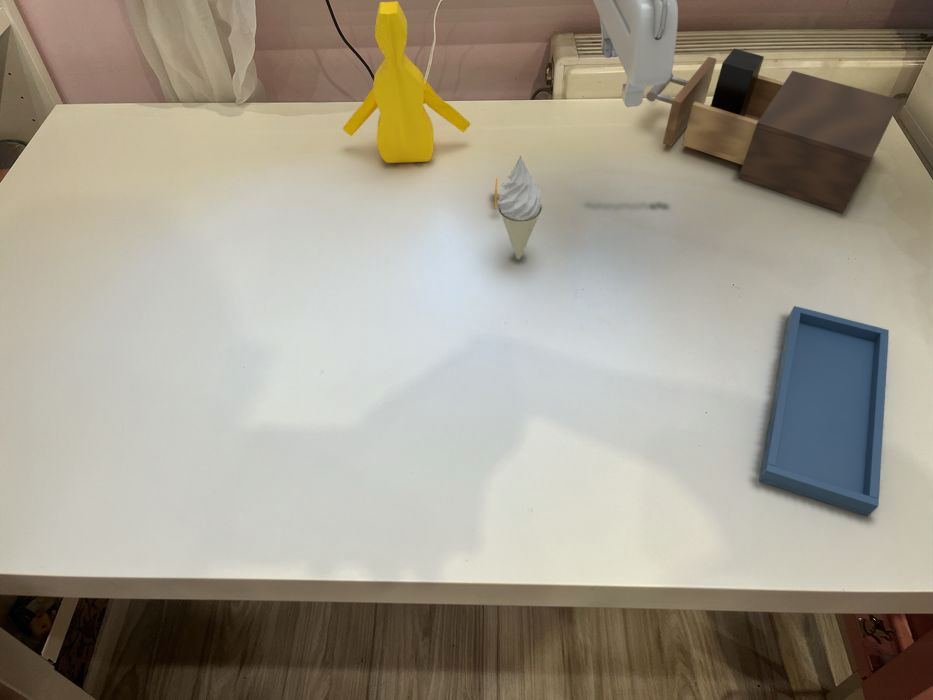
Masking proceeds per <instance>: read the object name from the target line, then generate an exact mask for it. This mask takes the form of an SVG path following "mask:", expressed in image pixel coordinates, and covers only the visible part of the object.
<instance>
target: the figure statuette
mask: <svg viewBox="0 0 933 700" xmlns="http://www.w3.org/2000/svg"><path fill="white" fill-rule="evenodd" d="M374 37H375V41H376V43H377V46H378V47H379V50H380V51H381V53H382V54H383V56H384V57H385V58H384V59H383V61H382V62H381V64H380V66H379V67H378V69H376V72H375V74H374V76H373V86H372V89H371V90H370V92H369V93H368V95H367V96H366V98H365V99H364V100H363V102H362V104H361V105H360V106H359V107H358V108H357V109H356V110H355V111H354V112H353V114H352V115H351V117H350V118H349V119H348V120H347V122H345V125H344V126H343V127H342V130H343V132H345V133H346V134H347V135H348V136H350V137H353V135H355V133H356V132H357V131H358V130H359V129H360V128H361V126H363V124H364V123H366V121H367V120H368V119H369V117H370V116H372V114H373V113H374V112H375V111H376V110H377V109H378V111H379V113H380V114H379V116H378V121H377V130H376V143H377V144H376V145H377V148H378V152H379V154H380V157H381V159H382V160H383V161H384V162H385V163H387V164H400V163H423V162H429V161H431V160H432V158H433V154H434V147H435V146H434V142H435V140H434V139H435V134H434V133H435V132H434V126H433V123H432V120H431V117H430V115H429V113H428V111H427V110H426V108H425V106H424V105H425V104H426V105H427V107H429V108H430V109H431V110H432V111H434V112H435V113H437V114H438V115H439V116H440V117H442V118H443V119H444V120H446V121H447V122H448V123H450V124H451V125H453V126H454V127H455V128H456V129H458V130H459V131H460V132H462V133H465V132H466V131H467V129H468V128H470V126H471V122H470V120H467V118H466V117H464V116H463V115H462V114H461V113H460V112H459V111H458V110H457V109H456V108H454V107H453V106H452V105H451V104H449V103H448V102H446V101H444V100H443V98H441V96H439V95H438V94H437V93H436V91H435V90H434V89H433V87H432V86H431V84H429V82H428V81H426V80H425V77H424V75H423V73H422V71H421V70H420V69H419V67H417V66H416V65H415V64H414V63H413V61H411V60H410V58H409V57H408V56H407V55H406V53H405V49H406V46H407V42H408V41H407V40H408V20H407V18H406V15H405V13H404V11H403V9H402V6H401V5H400V3H399V1H397V0H395V1H380V2H379V5H378V9H377V14H376V20H375V29H374Z"/></svg>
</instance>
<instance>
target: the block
mask: <svg viewBox="0 0 933 700" xmlns="http://www.w3.org/2000/svg"><path fill="white" fill-rule="evenodd" d="M764 59H765V56H764V55H760V54H756V53H753V52H749V51H746V50H742V49H737V48H733V49H732V50H731V51H730V53H729V54H728V56H726V58H724V60H723V62H722V64H721V67H720V71H719V74H718V78H717V82H716V85H715V89H714V93H713V96H712V100H711V104H710V105H711V107H715V108H718V109H721V110H724V111H728V112H731V113H734V114H738V115H741V116H744V117H745V114H746V111H747V108H748V105H749V102H750V99H751V96H752V93H753V90H754V86H755V83H756V80H757V77H758V75H760V71H761V69H762V64H763V62H764Z"/></svg>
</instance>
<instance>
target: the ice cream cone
mask: <svg viewBox="0 0 933 700" xmlns="http://www.w3.org/2000/svg"><path fill="white" fill-rule="evenodd" d="M507 179H508V180H509V179H510V181H509V182H504V183H502V184H501V187H503V188H504V189H503V190H497V195H500V196H502V198H501V199H499V200H498V199H497V200H496V203H497V211H498V213H499V214H500V216H501V218H502V221H503V224H504V227H505V230H506V232H507V235H508V238H509V241H510V244H511V247H512V249H513V252H514V256H515V257H516V260H521V258H522V256H523V254H524V251H525V249H526V247H527V244H528V242H529V240H530V238H531V235H532V233H533V230H534V228H535V226H536V224H537V222H538V219H539V216H540V215H541V214H542V212H543V202H542V201H541V200H542V193H541V191H540V188H539V185H538V184H537V183H536V182H534V181H533V176H532V174H531V173H530V171H529V170H528V168H527V166H526V164H525V162H524V160H523V157H522V156H521V155H520V156H519V157H518V160H517V161H516V164H515V165H514V167H513V169H512V170H511V172H510V173H509V175H507Z"/></svg>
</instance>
